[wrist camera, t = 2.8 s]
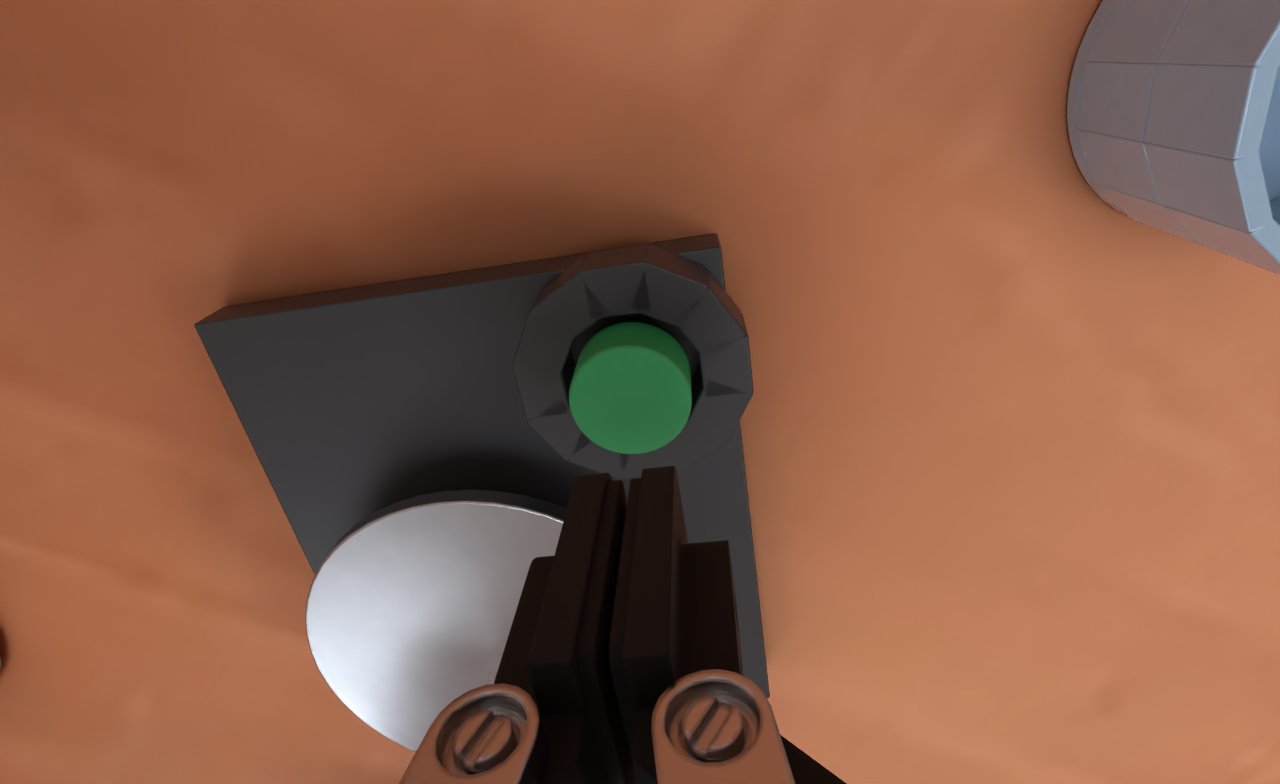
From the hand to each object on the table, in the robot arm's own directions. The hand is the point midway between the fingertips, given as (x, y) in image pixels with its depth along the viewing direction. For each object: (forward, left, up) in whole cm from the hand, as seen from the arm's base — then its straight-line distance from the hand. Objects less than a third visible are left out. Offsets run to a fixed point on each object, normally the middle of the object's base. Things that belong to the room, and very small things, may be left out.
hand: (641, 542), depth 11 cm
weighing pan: (+8, -6, -6) cm, 11 cm away
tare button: (0, 0, -6) cm, 6 cm away
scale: (+5, -5, -9) cm, 11 cm away
